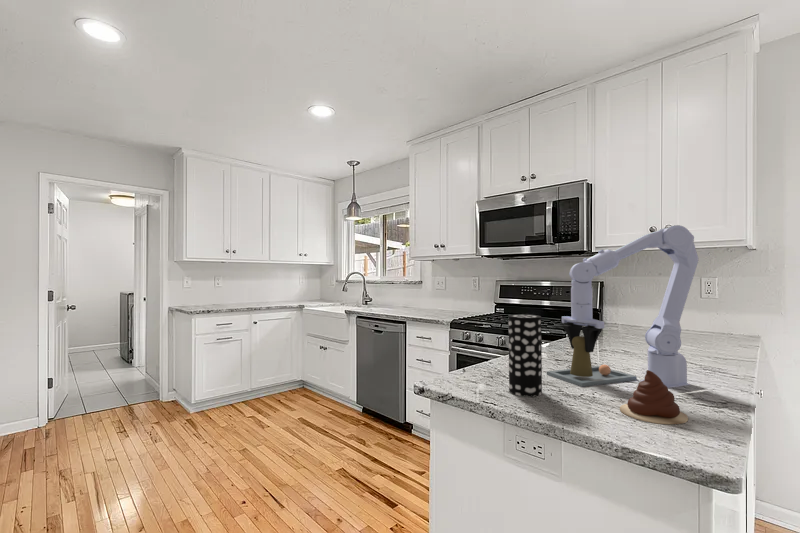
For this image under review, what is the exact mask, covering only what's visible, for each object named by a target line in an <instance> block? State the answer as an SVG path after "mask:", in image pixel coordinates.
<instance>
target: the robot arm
mask: <svg viewBox="0 0 800 533" xmlns="http://www.w3.org/2000/svg"><path fill="white" fill-rule="evenodd" d="M656 248H658V249H659V250H661V251H662V252H664V253H665V254H667V256H668V257H669V258H670V259H671V260H672V262H673V267H672V269H671V272H670V275H669V279H668V283H667V285H666V289H665V292H664V295H663V298H662V302H661V304H660V309H659V312H658V315H657V317H655V319H653V321H652V324H651V326H650V327H649V328H648V329H647V331H646V332H645V335H644V338H645V339H644V340H645V343H646V344H648V349H647V370H649V371H651V372H653V373H655V374H656V375H657V376H658V377H659V378H660V379H661V380H662V382H663V384H664V385H666V386H667V388H668V389H671V388H677V387H684V386H690V385H691V384H690V383H688V365H687V364H688V362H687V360H686V359H687V358H686V357H685V356H684V355H683V354H682V353H681V352H679V351H680V348H681V347H682V338H681V332H682V327H681V324H680V321H681V317H682V315H683V311H684V308H685V304H686V302H687V300H688V296H689V292H690V289H691V286H692V282H693V279H694V276H695V273H696V270H697V266H698V264H699V256H698V253H697V248H696V245H695V236H694V235H693V234H692V232H691V231H690V230H689V229H688V228H687V227H685V226H683V225H678V224H677V225H671V226H669V227H666V228H665V227H664V228H661V229H659V230H655V231H653V232H650V233H647V234H644V235H642V236H640V237H638V238H636V239H634V240H632V241H630V242H628V243H626V244H625V245H623V246H621V247H618V248H617V249H615V250H612V249H608V248H607V249H600V250H598V251H597V252H598V253H596V254H595V255H593V256H590V257H588V258H587V257H584V258H582V262H581V261H580V262H578V263H575V264H574V265H572V266H571V268H570V269H569V272H568V273H569V274H568V275H569V278H570V279H571V282H570V284H571V287H570V307H571V308H570V310H571V311H570V312H571V313H570V314H571V316H568V315H566V316H565V315H564V316H561V323H562V324H563V325H562V327H563V329H564V331H565V333H566V335H567V338H568V341H569V343H570V348H571V349H572V350H574V347H573V345H572V339H573V338H574V337H577V336H581V332H582V335H583V336H584V339H585V349H586V352H590V353H593V352H594V350H595V346H596V344H597V340H598V338H599V336H600V334H601V333H602V331H603V329H605V321H603V320H598V319H595V318H593V315H594V314H593V311H594V310H593V287H592V286H593V284H592V282H593V279H594V278H595V277H598V276H600V275H602V274H604V273H607V272H609V271H610V270H614V269H615V268H617V267H618V266H619V264H620V261H621V260H623V259H625V258H628V257H630V256H632V255H634V254H637V253H639V252H641V251H644V250H646V249H656ZM643 380H644V379H641V380H640V382H641V381H643Z"/></svg>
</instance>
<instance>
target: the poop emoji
mask: <svg viewBox="0 0 800 533" xmlns="http://www.w3.org/2000/svg"><path fill="white" fill-rule="evenodd" d="M643 378H644V379H642V380H643V381H640V382H639V383H638V384H637V386H636V388H635V390H634V391H633V394H632V397H629V399H628V400H627V403H626V404H627V405H628V408H629V409H630V410H631V411H632V412H634V413H636V414H639V415H644V416H654V415H658V416H661V417H665V418H674V417H677V416H678V415H679V413H680V412H681V408H680V406H679V404H677V403H676V402H675V401H676V400H675V395H674V393H673V392H672V391H671V390H669V388H667V386H666V385H664V384H663V382H662V380H661V379H660V378H659V377H658V376H657V375H656V374H655V373H653V372H651V371H649V370H648V369H646V373H645V376H644V377H643Z"/></svg>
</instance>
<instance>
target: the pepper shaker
mask: <svg viewBox="0 0 800 533" xmlns="http://www.w3.org/2000/svg"><path fill="white" fill-rule="evenodd" d="M572 345H573V347H574V349H572V350H573V352H572V356H571V357H572V359H571V366H570V369H571V371H570V374H572V375H575V376H581V377H591V376H593V374H592V360H591V352H586V349H585V339H584V335H580V336H577V337H574V338H573V339H572Z"/></svg>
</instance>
